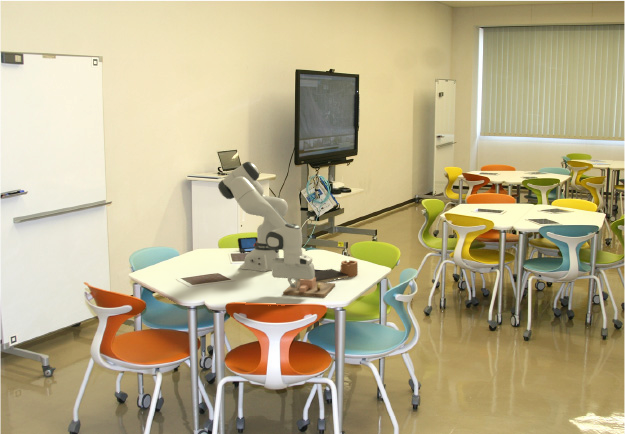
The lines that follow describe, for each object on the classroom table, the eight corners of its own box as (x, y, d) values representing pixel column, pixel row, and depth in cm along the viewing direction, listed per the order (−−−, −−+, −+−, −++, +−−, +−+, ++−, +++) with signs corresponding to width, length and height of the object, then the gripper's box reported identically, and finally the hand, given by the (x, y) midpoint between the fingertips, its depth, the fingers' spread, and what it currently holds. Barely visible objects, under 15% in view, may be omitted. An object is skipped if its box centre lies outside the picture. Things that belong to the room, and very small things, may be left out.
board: (283, 294, 329) (283, 291, 329) (295, 284, 348) (295, 281, 348) (324, 297, 324) (324, 294, 324) (335, 286, 343) (335, 283, 343)
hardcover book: (348, 279, 358) (348, 274, 358) (310, 286, 346) (310, 281, 346) (331, 272, 372) (331, 268, 371) (293, 279, 360) (293, 274, 359)
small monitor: (241, 253, 420) (241, 241, 419) (237, 250, 431) (237, 238, 429) (262, 252, 424) (261, 239, 423) (257, 248, 435) (257, 236, 433)
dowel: (316, 290, 330) (316, 284, 330) (317, 289, 332) (317, 283, 331) (319, 290, 330) (319, 284, 329) (320, 289, 331) (320, 283, 331)
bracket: (358, 277, 361) (357, 263, 360) (341, 277, 361) (341, 264, 360) (355, 268, 379) (355, 256, 377) (340, 269, 379) (340, 256, 377)
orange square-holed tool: (295, 291, 328) (295, 283, 328) (303, 284, 341) (303, 276, 340) (308, 292, 327) (308, 284, 326) (315, 285, 339) (315, 277, 338)
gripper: (269, 259, 329) (270, 287, 331) (311, 261, 323) (312, 290, 326) (274, 256, 335) (274, 284, 337) (315, 258, 329) (316, 286, 332)
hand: (293, 287), depth 331 cm, fingers closed
